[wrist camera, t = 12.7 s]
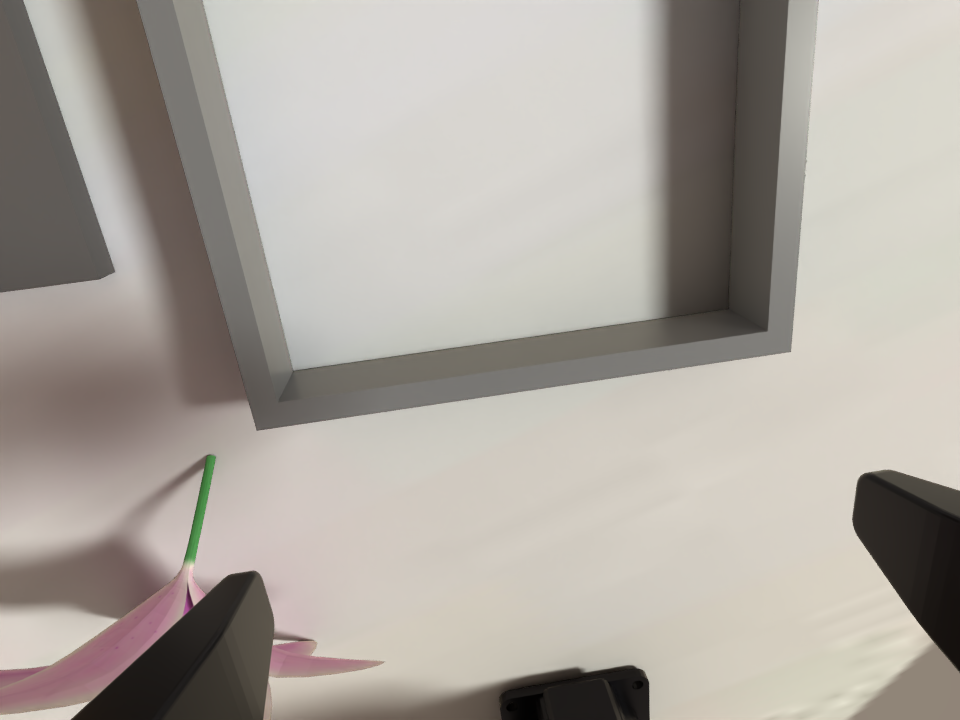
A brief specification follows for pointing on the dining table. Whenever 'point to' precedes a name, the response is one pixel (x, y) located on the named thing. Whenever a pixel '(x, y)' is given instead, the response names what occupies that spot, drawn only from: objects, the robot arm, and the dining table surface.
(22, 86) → the rubber mat
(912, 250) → the dining table surface
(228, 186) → the case
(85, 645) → the lily
